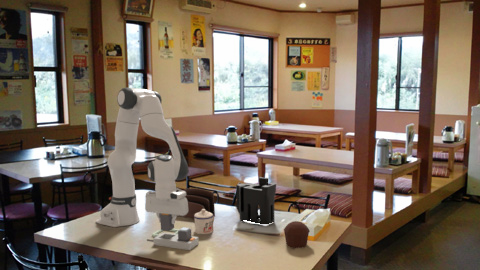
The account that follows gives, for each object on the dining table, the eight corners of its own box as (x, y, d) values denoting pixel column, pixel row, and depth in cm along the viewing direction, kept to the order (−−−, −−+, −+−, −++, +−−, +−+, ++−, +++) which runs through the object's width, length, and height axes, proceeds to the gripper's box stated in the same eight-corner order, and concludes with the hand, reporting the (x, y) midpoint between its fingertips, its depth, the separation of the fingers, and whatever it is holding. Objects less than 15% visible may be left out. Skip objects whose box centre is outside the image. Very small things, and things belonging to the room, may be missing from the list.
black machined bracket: (267, 227, 214) (267, 184, 211) (233, 220, 226) (232, 179, 223) (279, 221, 224) (279, 179, 221) (246, 214, 236) (246, 175, 233)
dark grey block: (178, 246, 189) (177, 229, 188) (183, 243, 192) (182, 226, 192) (187, 247, 187) (186, 230, 186) (191, 244, 191) (191, 227, 190)
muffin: (283, 240, 197) (282, 218, 196) (307, 239, 197) (307, 218, 196) (285, 249, 186) (284, 227, 184) (311, 249, 185) (311, 227, 184)
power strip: (142, 245, 194) (141, 235, 193) (152, 239, 201) (152, 229, 200) (189, 252, 184) (189, 242, 184) (198, 245, 192) (198, 235, 191)
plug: (160, 230, 192) (160, 213, 191) (166, 227, 195) (165, 210, 194) (169, 231, 190) (168, 214, 189) (174, 228, 194) (173, 211, 193)
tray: (151, 238, 202) (151, 234, 202) (163, 231, 211) (163, 227, 211) (170, 240, 198) (170, 236, 198) (181, 233, 208) (181, 229, 207)
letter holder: (186, 210, 245) (185, 186, 244) (215, 216, 235) (214, 190, 233) (174, 215, 237) (173, 190, 235) (204, 221, 227) (203, 194, 225)
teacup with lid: (205, 237, 202) (204, 213, 200) (190, 234, 207) (189, 210, 206) (221, 230, 212) (220, 207, 210) (206, 227, 217) (205, 204, 215)
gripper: (141, 192, 192) (143, 222, 193) (182, 196, 184) (183, 227, 186) (149, 189, 197) (151, 218, 199) (189, 192, 190) (190, 223, 191)
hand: (167, 223), depth 192 cm, fingers closed on plug, 4 cm apart
